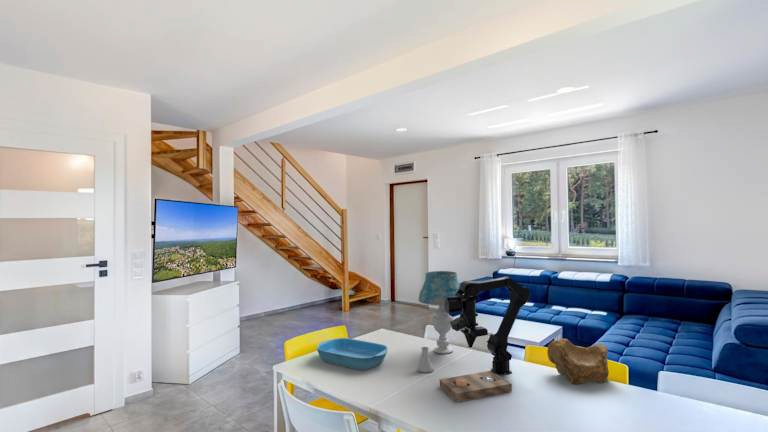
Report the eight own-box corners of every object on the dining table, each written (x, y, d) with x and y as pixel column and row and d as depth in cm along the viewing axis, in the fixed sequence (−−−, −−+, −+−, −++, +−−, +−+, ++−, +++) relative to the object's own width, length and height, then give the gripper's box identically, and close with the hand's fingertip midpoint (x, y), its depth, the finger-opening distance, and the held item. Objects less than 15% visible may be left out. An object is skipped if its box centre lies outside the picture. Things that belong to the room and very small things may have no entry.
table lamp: (410, 351, 196) (408, 273, 197) (439, 340, 212) (437, 269, 213) (447, 362, 178) (445, 277, 179) (476, 350, 195) (473, 272, 196)
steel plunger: (489, 383, 154) (489, 375, 154) (496, 387, 150) (496, 379, 150) (480, 384, 153) (480, 376, 153) (486, 389, 149) (486, 380, 149)
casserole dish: (396, 359, 185) (396, 345, 185) (372, 376, 166) (371, 359, 166) (336, 348, 204) (335, 335, 204) (307, 362, 184) (307, 347, 185)
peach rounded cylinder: (463, 385, 151) (463, 377, 151) (469, 390, 147) (469, 381, 147) (453, 387, 149) (453, 379, 149) (459, 391, 145) (459, 383, 145)
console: (491, 377, 160) (490, 370, 160) (512, 391, 147) (511, 383, 147) (439, 386, 153) (439, 379, 153) (456, 401, 139) (456, 393, 139)
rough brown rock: (549, 386, 152) (550, 350, 151) (546, 368, 168) (546, 335, 167) (616, 395, 145) (617, 357, 144) (606, 375, 160) (607, 340, 159)
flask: (433, 373, 166) (432, 350, 166) (416, 372, 168) (415, 350, 168) (434, 367, 173) (433, 345, 173) (418, 366, 175) (417, 344, 175)
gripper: (442, 308, 170) (443, 343, 170) (464, 317, 153) (465, 357, 152) (463, 306, 174) (465, 340, 174) (487, 314, 156) (489, 353, 156)
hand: (470, 347), depth 164 cm, fingers closed
